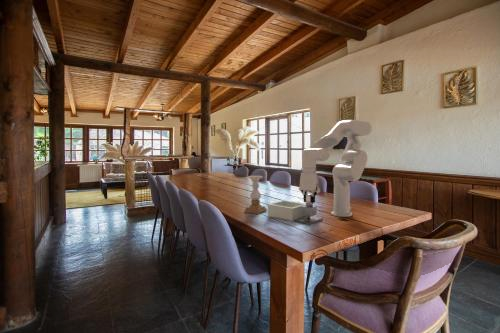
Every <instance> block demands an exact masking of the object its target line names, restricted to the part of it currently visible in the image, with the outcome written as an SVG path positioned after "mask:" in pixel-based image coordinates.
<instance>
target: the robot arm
mask: <svg viewBox="0 0 500 333" xmlns="http://www.w3.org/2000/svg"><path fill="white" fill-rule="evenodd" d="M372 131H373V127H372V125H371V123H370V122H368V121H364V120H358V119H357V120H356V119H347V120H346V119H345V120H341V121H338V122H337V123H336V124H335V125H334V126H333V128H332V129H331V130H330V131H329V132H328V133H327V134H326V135H323V136H322V137H321V138H318V139H317V140H316V141H314V142H313V143H312V144H311V145H310V146H309V147H308V148H305V149H303V150H302V168H300V170H301V173H300V176H299V177H300V178H299V187H298V190H299V192H301V194H302V195H303V203H306V194H308V192H310V194H312V196H311V203H313V204H315V202H316V197H317V195H318V194H319V193H320V192H321V189H320V187H319V177H318V173H317V162H325V161H327V160H329V158H330V152H329V150H328V149H330V148H333V147H334V146H337V145H339V143H340V142H341V141H342V140H343V139H344V137H346V139H347V143H346V145H345V148H344V151H343V153H342V155H341V156H340V157H341V158H340V161H341V163H342V164H336V165H334V167H333V169H332V179H333V210H332V211H331V213H330V214H331V215H332V216H334V217H340V218H347V217H348V218H349V217H352V216H353V212H351V210H352V207H351V204H350V203H351V202H350V201H351V187H350V182H358V181H359V180H360V178H361V177H362V174H363V172H364V170H365V167H366V165H367V162H368V154H367V152H366V151H365V150H362V149H361V148H362V142H361V141H360V138H359V137H366V136H369V135H370V134H371V133H372Z"/></svg>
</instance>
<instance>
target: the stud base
mask: <svg viewBox="0 0 500 333" xmlns="http://www.w3.org/2000/svg"><path fill="white" fill-rule="evenodd" d="M323 220H324V218H323V217H319V216H316V215H314V216H312V217H310V216H304V217H301V218H298V219H295V221H294V223H297V224H302V225H307V226H312V225H315V224H317V223H319V222H323Z"/></svg>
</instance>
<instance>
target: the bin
mask: <svg viewBox="0 0 500 333" xmlns="http://www.w3.org/2000/svg"><path fill="white" fill-rule="evenodd" d="M305 205H306V203H305V202H303V203H302V202H299V201H297V202H296V201H289V200H279V201H275V202H271V203H267V217H268V218H271V219H276V220H280V221H284V222H289V223H295V219H298V218H301V217H304V216H305V215H302V206H305Z"/></svg>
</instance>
